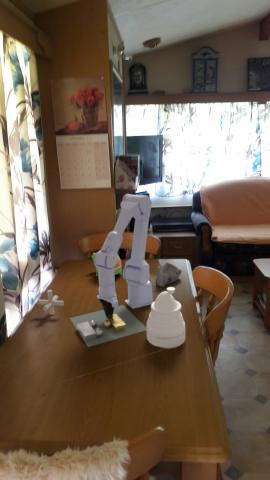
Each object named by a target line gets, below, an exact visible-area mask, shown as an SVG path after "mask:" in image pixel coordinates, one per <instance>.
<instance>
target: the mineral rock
mask: <svg viewBox="0 0 270 480" xmlns="http://www.w3.org/2000/svg"><path fill="white" fill-rule="evenodd" d="M182 271H183V270H182V269H180V268H178V267H177V266H176V265H174V264H172V263H169V262H166V263H164V264H163V265H160V266H157V267H156V279H155V285H157V286H158V287H162V288H163V287H165V286H168V285H169V284H171V283H173V282H176V281H177V280H178V279H179V278H180V276H181V274H182Z"/></svg>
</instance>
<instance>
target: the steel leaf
mask: <svg viewBox="0 0 270 480" xmlns="http://www.w3.org/2000/svg"><path fill="white" fill-rule="evenodd" d="M96 326H97V324H96V322H95V321H94V320H90V321H89V322H84V323H80V324H77V329H78V331H79V332H78V331H77V332H78V334H79V333H80V334H81V335H80V334H79V335H80V337H81V336H82V337H83V338H82V337H81V338H82V340H83V339H84V340H85V341H84V340H83V341H84V343H85V342H86V341H89V340H93V339H96V338H97V337H99V338H100V337H102V336H103V331H102V330H101V329H100V328H96ZM94 328H96V329H95V331H94ZM77 329H76V330H77Z"/></svg>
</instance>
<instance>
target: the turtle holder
mask: <svg viewBox="0 0 270 480" xmlns="http://www.w3.org/2000/svg"><path fill="white" fill-rule="evenodd" d="M96 253H97V252H93V253H92V255H91V259H92V260H93V262H94V258H95V254H96ZM94 266H95V272H96V273H95V274H96V275H95V276H96V277H99V276H98V270H97V267H96V265H95V264H94ZM122 271H123V270H122V260H121V258H120V256H119V255H118V256H117V263H116V265H115V266H114V276H115V275H119V276H123V272H122Z"/></svg>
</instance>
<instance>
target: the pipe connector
mask: <svg viewBox="0 0 270 480" xmlns="http://www.w3.org/2000/svg"><path fill="white" fill-rule="evenodd" d="M46 293H47V299H37V305H43V307H42V310H43V311H44V312H46V311H48V310H49V315H50V316H51V315H52V316H53V315H55V307H54V306H64V304H65V302H64V300H59V296H58V295H53V290H52V289H48V290H47V291H46Z"/></svg>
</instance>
